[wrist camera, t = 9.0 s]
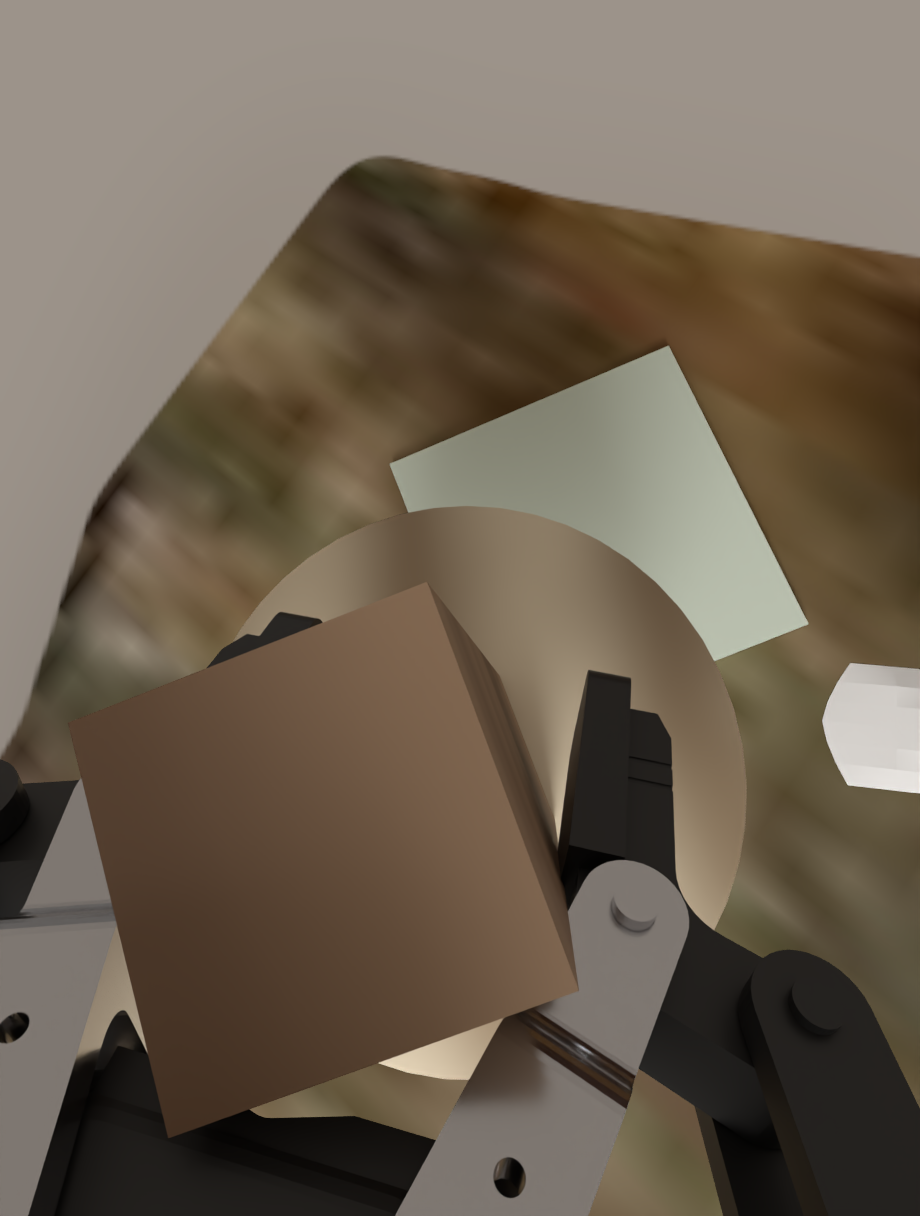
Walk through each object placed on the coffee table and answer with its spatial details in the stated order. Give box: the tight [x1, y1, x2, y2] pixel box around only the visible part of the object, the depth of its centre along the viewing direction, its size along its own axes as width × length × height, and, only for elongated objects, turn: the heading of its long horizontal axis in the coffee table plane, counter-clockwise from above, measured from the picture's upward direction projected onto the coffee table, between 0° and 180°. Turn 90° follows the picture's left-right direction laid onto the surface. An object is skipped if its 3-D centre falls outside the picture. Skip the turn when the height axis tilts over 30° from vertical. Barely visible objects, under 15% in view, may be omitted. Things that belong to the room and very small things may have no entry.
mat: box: [390, 346, 808, 661], centre depth 31 cm, size 14×14×1 cm
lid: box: [68, 506, 747, 1138], centre depth 11 cm, size 13×13×12 cm
